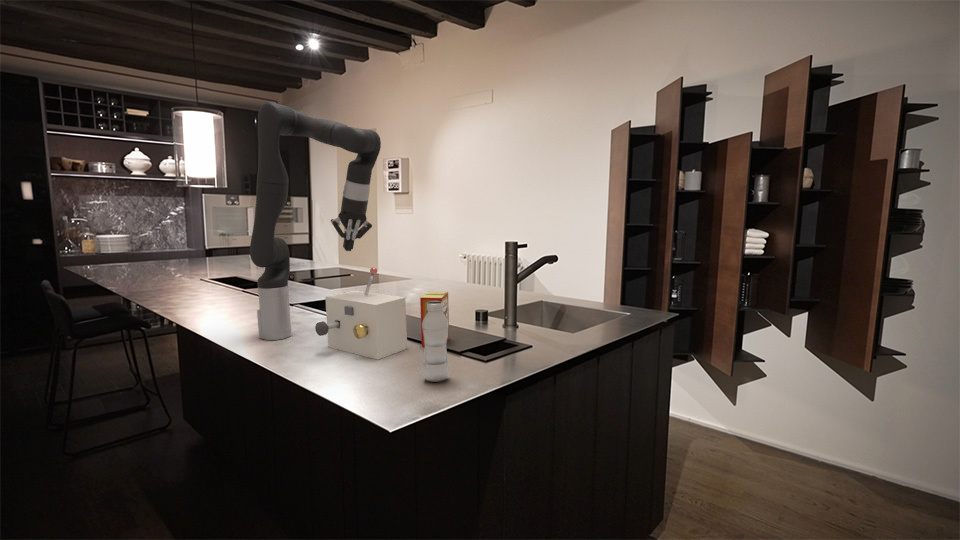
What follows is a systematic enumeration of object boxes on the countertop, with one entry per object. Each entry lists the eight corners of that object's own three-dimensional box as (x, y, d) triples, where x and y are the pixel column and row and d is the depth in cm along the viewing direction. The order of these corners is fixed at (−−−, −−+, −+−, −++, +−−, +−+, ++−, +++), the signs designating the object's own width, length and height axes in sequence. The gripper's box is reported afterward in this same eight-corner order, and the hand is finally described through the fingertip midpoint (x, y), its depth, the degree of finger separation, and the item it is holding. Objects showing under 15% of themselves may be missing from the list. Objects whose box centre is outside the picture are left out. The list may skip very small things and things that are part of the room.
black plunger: (315, 334, 142) (314, 321, 142) (334, 329, 148) (334, 316, 147) (324, 336, 140) (323, 323, 139) (343, 331, 146) (342, 318, 145)
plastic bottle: (423, 375, 125) (421, 300, 122) (449, 374, 125) (447, 299, 122) (422, 385, 118) (420, 305, 115) (449, 384, 119) (448, 305, 116)
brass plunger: (353, 337, 139) (352, 324, 138) (371, 332, 144) (371, 319, 144) (363, 339, 136) (362, 326, 136) (381, 334, 142) (380, 320, 142)
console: (326, 347, 149) (323, 297, 147) (358, 337, 160) (355, 290, 158) (376, 360, 137) (373, 305, 135) (407, 348, 148) (405, 297, 145)
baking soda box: (442, 348, 148) (441, 296, 146) (421, 347, 149) (420, 296, 147) (449, 339, 157) (448, 290, 155) (429, 338, 158) (428, 290, 156)
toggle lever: (360, 294, 146) (369, 266, 149) (365, 296, 148) (374, 268, 150) (365, 294, 145) (374, 266, 147) (370, 296, 147) (379, 269, 149)
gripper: (337, 197, 139) (329, 253, 144) (380, 201, 146) (371, 255, 152) (330, 190, 145) (323, 245, 150) (372, 195, 152) (364, 247, 157)
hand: (347, 250), depth 151 cm, fingers closed
